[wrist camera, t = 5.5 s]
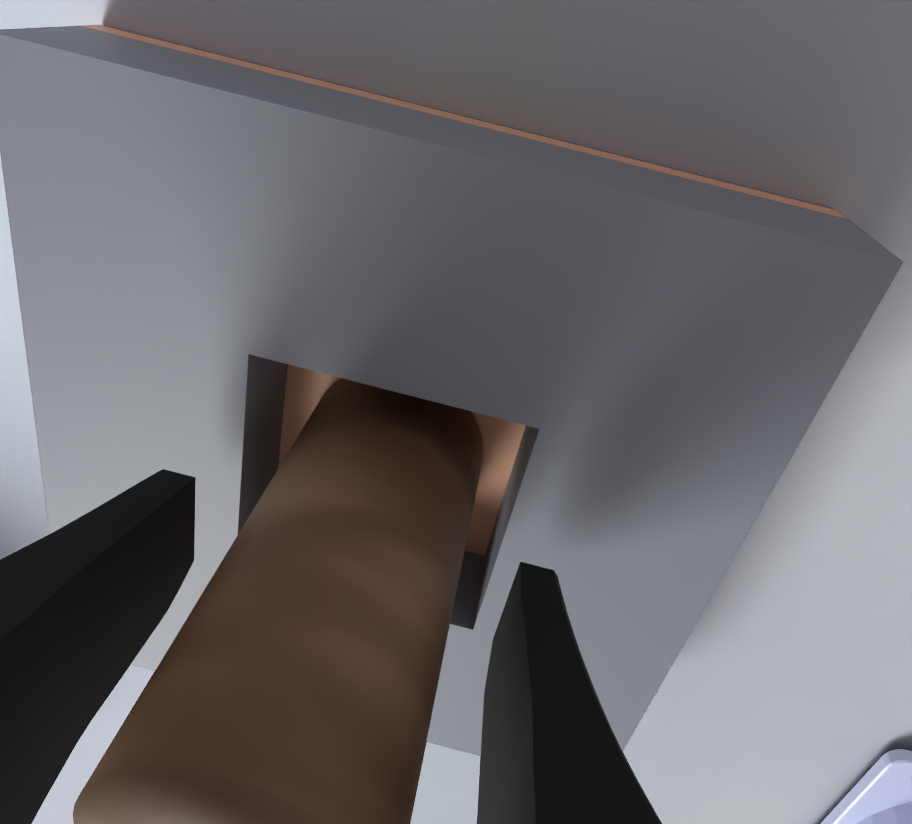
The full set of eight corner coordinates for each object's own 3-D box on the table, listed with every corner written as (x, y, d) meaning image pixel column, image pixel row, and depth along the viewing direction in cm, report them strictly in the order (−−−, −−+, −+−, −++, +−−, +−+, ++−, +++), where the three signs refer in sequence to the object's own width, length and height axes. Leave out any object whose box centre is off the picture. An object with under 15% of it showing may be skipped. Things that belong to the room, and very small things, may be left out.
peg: (501, 393, 15) (419, 828, 7) (464, 529, 17) (372, 972, 9) (319, 348, 15) (54, 731, 7) (305, 489, 17) (89, 896, 10)
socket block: (836, 210, 13) (902, 262, 10) (597, 687, 20) (601, 787, 18) (100, 25, 13) (-17, 30, 10) (128, 565, 20) (64, 646, 18)
